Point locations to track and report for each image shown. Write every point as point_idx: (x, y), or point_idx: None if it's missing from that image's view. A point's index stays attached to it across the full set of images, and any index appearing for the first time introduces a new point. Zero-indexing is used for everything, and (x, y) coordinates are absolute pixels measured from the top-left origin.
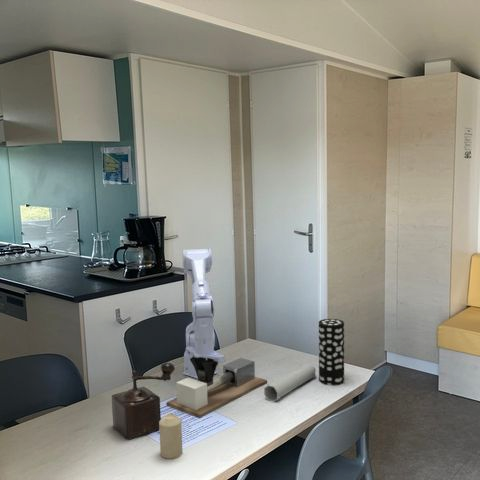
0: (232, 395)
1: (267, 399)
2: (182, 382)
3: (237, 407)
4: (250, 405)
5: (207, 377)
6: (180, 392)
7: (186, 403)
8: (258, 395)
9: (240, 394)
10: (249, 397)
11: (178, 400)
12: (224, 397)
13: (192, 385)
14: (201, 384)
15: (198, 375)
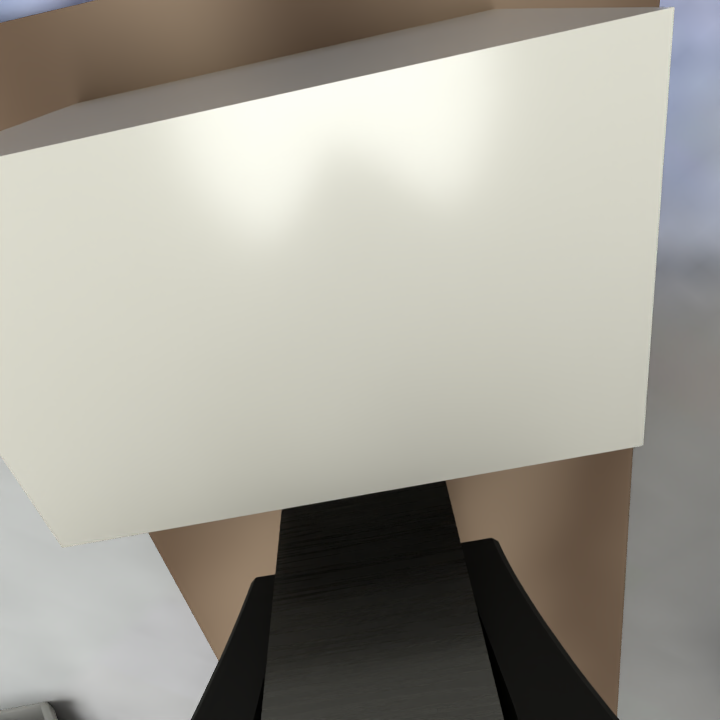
0: (217, 593)
1: (43, 705)
2: (510, 175)
3: (17, 511)
4: (4, 594)
5: (217, 670)
6: (436, 38)
7: (271, 61)
8: (155, 698)
9: (212, 638)
10: (161, 651)
11: (469, 17)
12: (223, 531)
13: (130, 275)
14: (65, 455)
15: (464, 612)
